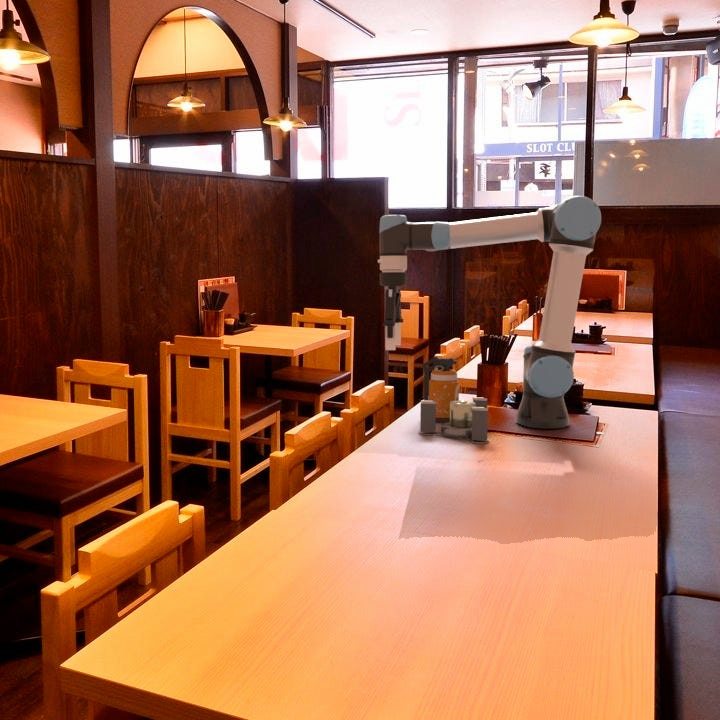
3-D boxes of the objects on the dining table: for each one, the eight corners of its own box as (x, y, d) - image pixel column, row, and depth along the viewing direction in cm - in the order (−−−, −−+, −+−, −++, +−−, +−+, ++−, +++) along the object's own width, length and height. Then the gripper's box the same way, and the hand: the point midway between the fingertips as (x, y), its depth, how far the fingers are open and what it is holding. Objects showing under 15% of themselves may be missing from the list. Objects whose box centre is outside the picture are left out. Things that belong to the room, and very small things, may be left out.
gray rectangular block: (486, 437, 208) (487, 406, 207) (487, 440, 204) (487, 408, 203) (471, 436, 208) (472, 405, 207) (471, 440, 204) (472, 408, 203)
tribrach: (488, 428, 224) (489, 395, 223) (489, 444, 203) (490, 408, 202) (421, 425, 227) (421, 393, 226) (415, 441, 206) (415, 406, 205)
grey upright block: (435, 429, 218) (436, 399, 217) (434, 432, 214) (435, 402, 213) (421, 429, 218) (421, 399, 217) (419, 431, 215) (420, 401, 214)
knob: (486, 425, 224) (487, 396, 223) (486, 428, 220) (487, 398, 219) (472, 425, 224) (472, 396, 223) (472, 427, 220) (472, 398, 220)
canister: (457, 426, 226) (458, 358, 224) (419, 425, 228) (420, 358, 226) (459, 421, 235) (460, 355, 233) (423, 419, 237) (424, 354, 235)
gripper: (385, 271, 227) (385, 343, 230) (373, 271, 203) (373, 351, 205) (410, 271, 226) (410, 343, 228) (401, 271, 202) (402, 352, 204)
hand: (393, 347), depth 217 cm, fingers open, 13 cm apart
